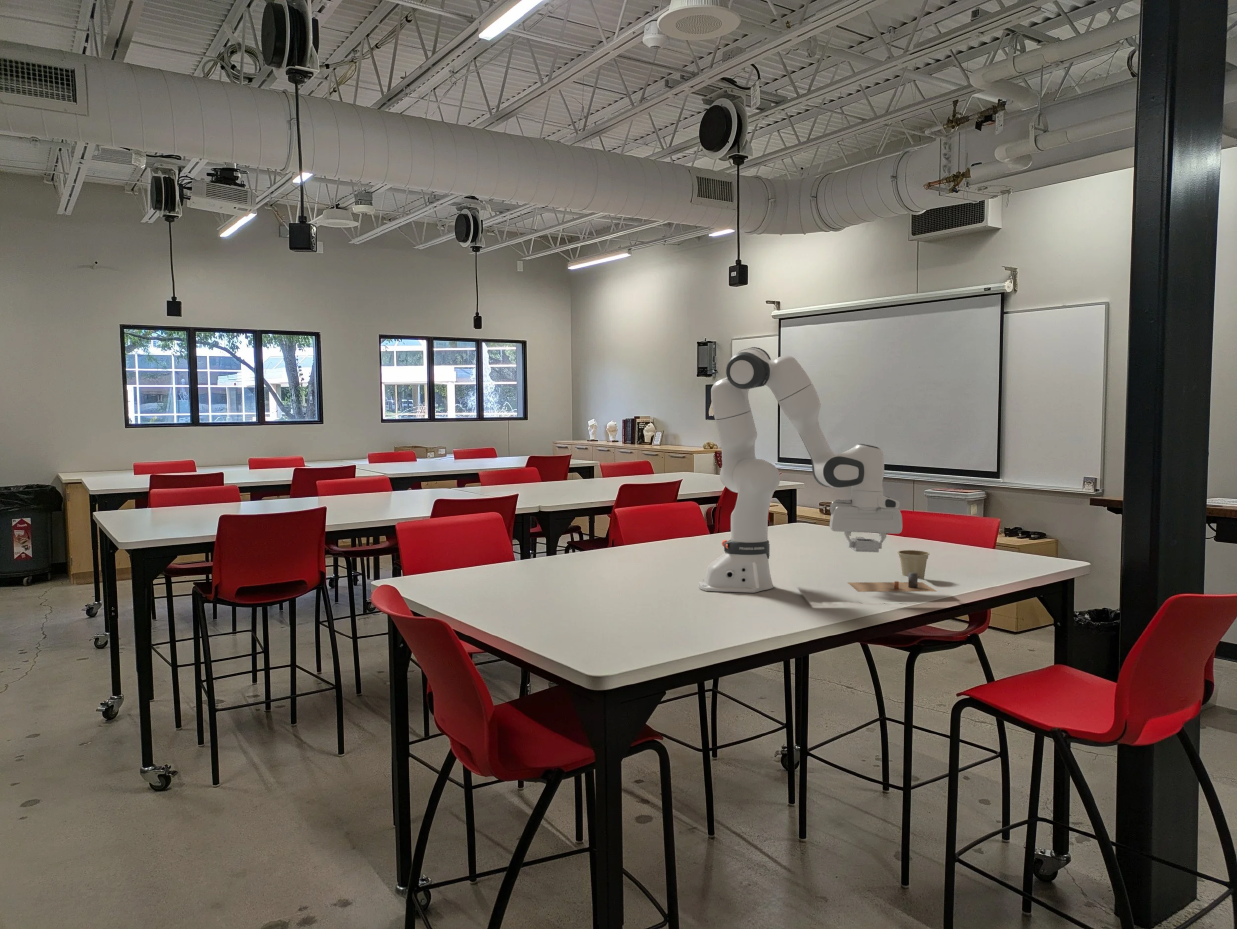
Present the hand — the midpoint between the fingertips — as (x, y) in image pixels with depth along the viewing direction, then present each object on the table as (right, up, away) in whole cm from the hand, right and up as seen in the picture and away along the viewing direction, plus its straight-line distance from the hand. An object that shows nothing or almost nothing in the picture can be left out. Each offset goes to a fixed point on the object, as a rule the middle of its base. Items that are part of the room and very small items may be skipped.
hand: (864, 548), depth 235 cm
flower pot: (+21, -12, +18) cm, 30 cm away
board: (+8, -13, +1) cm, 15 cm away
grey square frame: (0, -1, +2) cm, 2 cm away
